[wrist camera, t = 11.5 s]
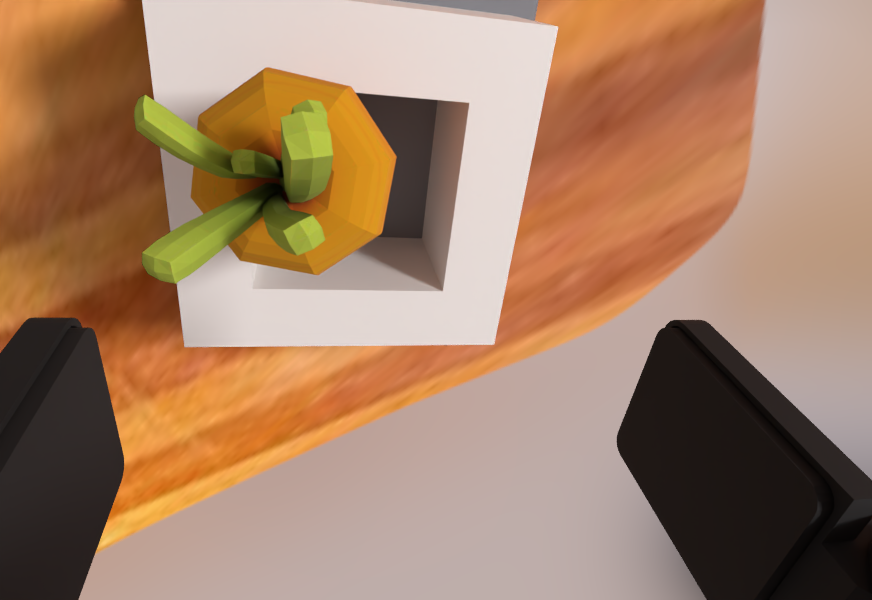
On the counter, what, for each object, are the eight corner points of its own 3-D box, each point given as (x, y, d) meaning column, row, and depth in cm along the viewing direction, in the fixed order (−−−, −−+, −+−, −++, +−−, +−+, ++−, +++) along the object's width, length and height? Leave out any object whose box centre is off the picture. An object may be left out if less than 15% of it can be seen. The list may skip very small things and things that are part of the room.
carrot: (293, 227, 24) (136, 374, 9) (261, 105, 22) (19, 61, 8) (408, 205, 24) (425, 318, 10) (384, 82, 22) (362, -3, 8)
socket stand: (146, -100, 19) (82, -126, 14) (535, -41, 22) (604, -44, 17) (191, 307, 27) (161, 390, 21) (474, 309, 30) (507, 382, 25)
